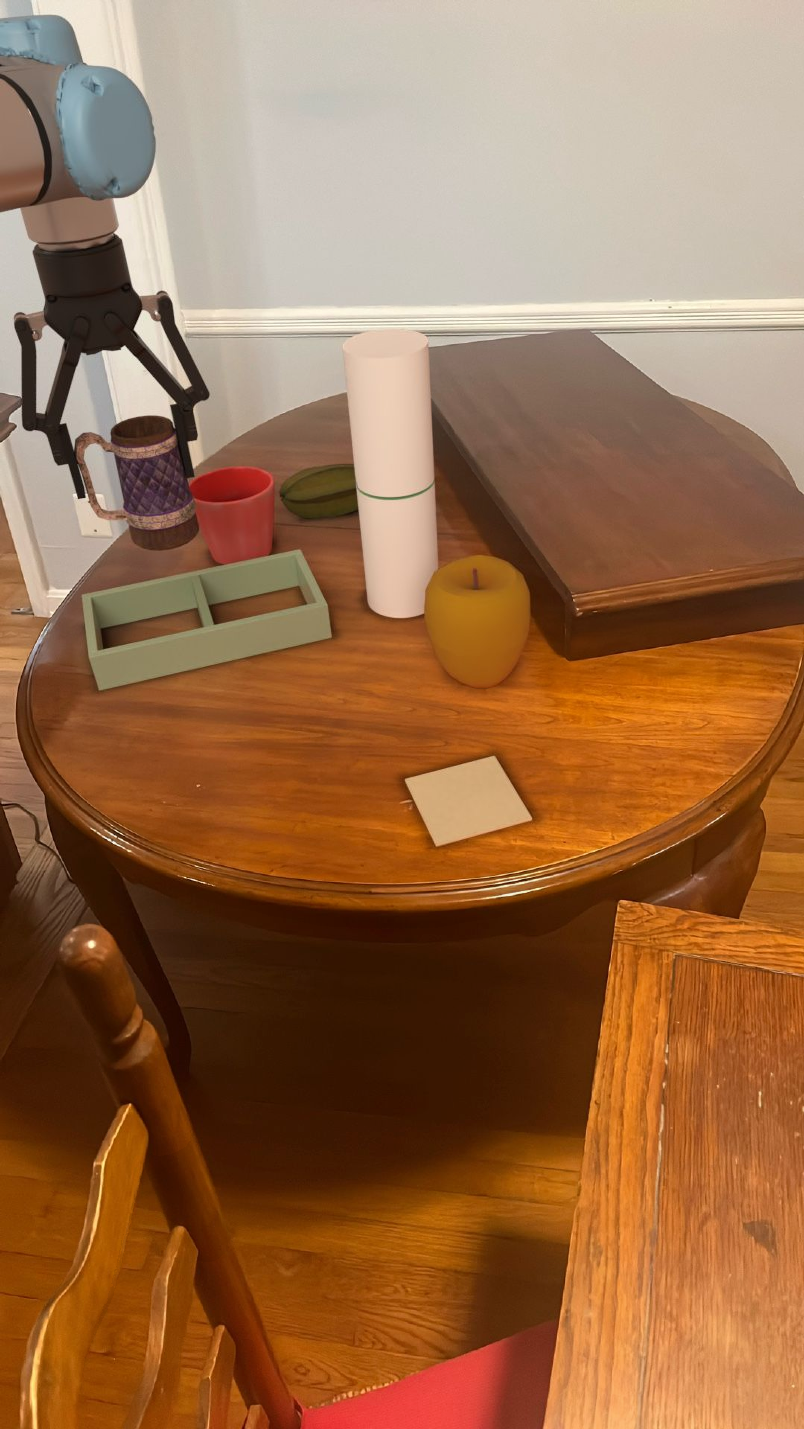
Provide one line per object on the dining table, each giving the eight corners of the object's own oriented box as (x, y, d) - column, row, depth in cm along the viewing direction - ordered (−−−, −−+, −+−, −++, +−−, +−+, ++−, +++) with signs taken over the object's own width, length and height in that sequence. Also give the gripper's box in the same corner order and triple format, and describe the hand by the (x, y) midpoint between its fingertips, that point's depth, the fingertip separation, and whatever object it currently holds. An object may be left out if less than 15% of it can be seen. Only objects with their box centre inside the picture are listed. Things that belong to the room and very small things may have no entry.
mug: (197, 514, 105) (174, 404, 98) (204, 545, 100) (180, 430, 93) (99, 532, 104) (68, 421, 96) (101, 564, 98) (69, 448, 91)
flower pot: (223, 529, 135) (210, 461, 128) (297, 537, 131) (287, 468, 125) (185, 568, 127) (169, 498, 121) (263, 578, 124) (250, 507, 118)
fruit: (328, 485, 143) (323, 442, 139) (394, 505, 137) (391, 460, 133) (274, 518, 136) (267, 473, 132) (342, 540, 130) (336, 494, 126)
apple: (438, 639, 111) (433, 536, 103) (535, 646, 109) (538, 542, 101) (417, 699, 103) (410, 592, 95) (522, 708, 100) (524, 600, 92)
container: (352, 603, 118) (324, 348, 99) (399, 572, 123) (381, 324, 104) (408, 627, 113) (389, 364, 94) (454, 593, 118) (445, 337, 99)
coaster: (436, 847, 86) (435, 844, 86) (404, 781, 93) (404, 778, 93) (532, 821, 88) (532, 818, 88) (494, 758, 95) (494, 755, 94)
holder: (99, 691, 107) (88, 657, 104) (91, 626, 117) (81, 594, 115) (332, 638, 112) (327, 604, 110) (305, 580, 123) (300, 548, 120)
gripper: (200, 212, 89) (240, 447, 103) (-62, 247, 85) (17, 489, 98) (214, 229, 84) (255, 475, 97) (-66, 268, 79) (19, 521, 93)
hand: (135, 482), depth 98 cm, fingers closed on mug, 10 cm apart
